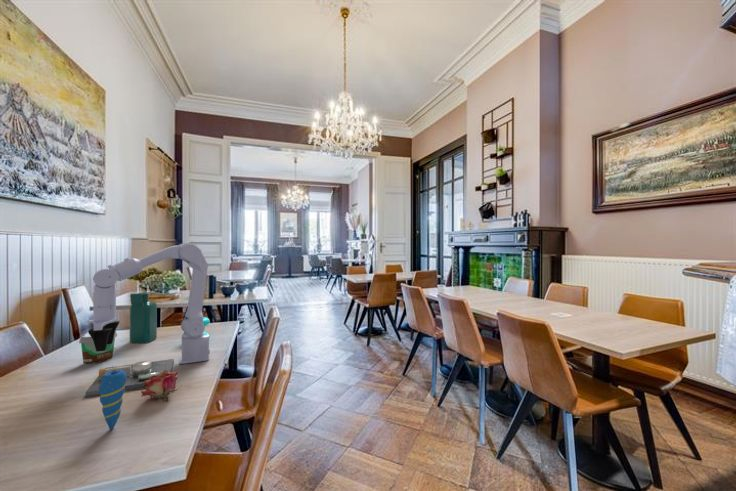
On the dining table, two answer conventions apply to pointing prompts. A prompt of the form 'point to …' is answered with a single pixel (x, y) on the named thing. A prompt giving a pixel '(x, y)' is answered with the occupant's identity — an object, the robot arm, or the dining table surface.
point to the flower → (160, 385)
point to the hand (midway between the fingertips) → (104, 347)
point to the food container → (90, 351)
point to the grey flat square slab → (134, 377)
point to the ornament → (112, 395)
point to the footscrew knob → (138, 369)
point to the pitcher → (142, 318)
